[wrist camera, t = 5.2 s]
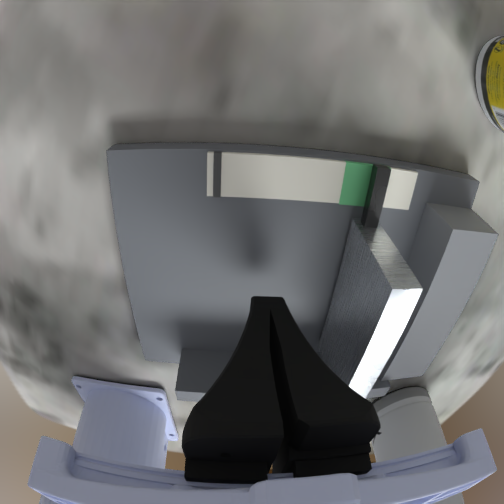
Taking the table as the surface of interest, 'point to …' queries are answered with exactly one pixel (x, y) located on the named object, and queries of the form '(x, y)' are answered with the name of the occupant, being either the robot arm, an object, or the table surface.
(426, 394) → the travel mug
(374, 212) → the paddle
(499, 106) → the supplement bottle
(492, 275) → the table surface
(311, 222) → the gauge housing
